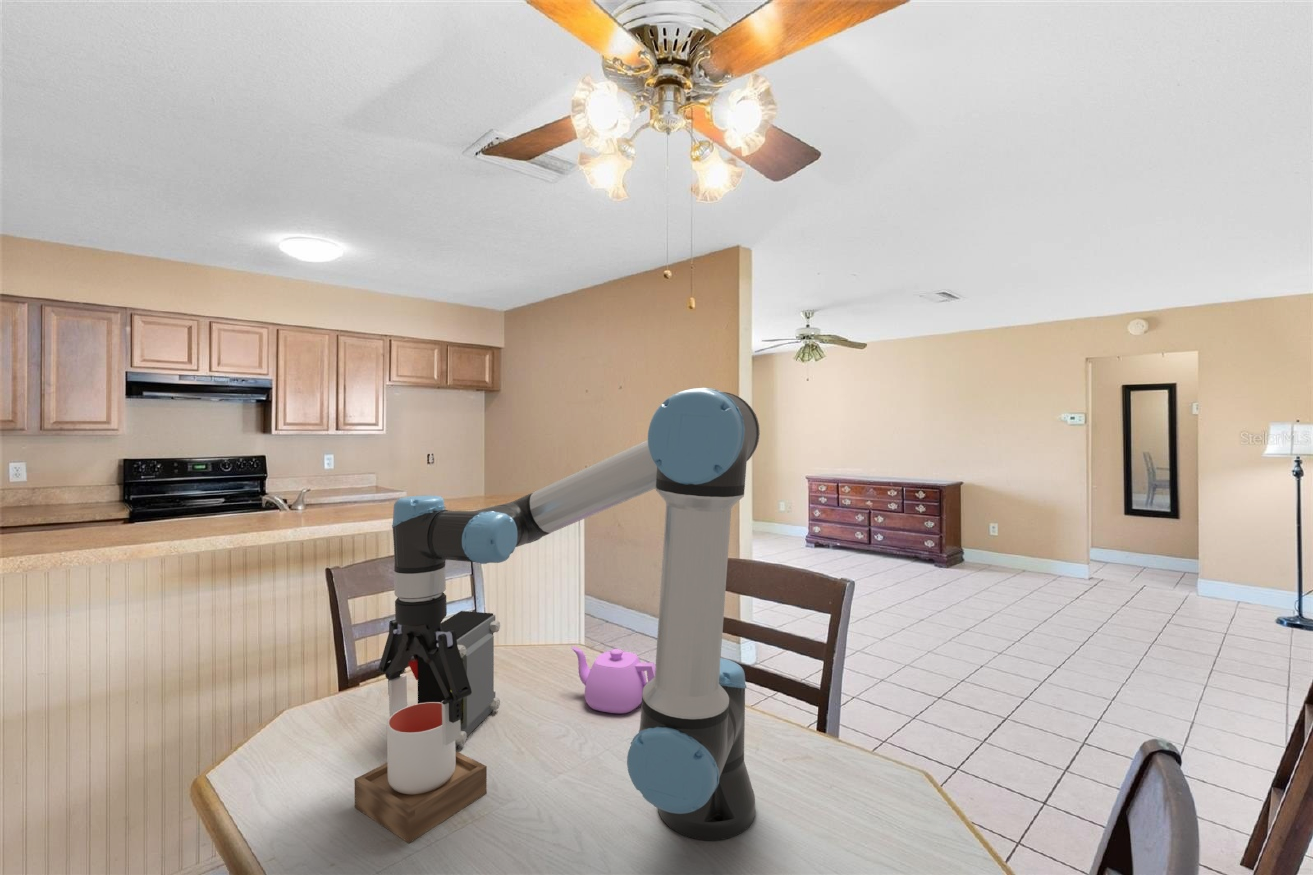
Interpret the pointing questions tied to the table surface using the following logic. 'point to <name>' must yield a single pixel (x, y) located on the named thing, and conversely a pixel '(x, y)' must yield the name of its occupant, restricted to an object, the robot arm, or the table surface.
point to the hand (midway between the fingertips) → (424, 729)
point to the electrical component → (466, 668)
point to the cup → (418, 749)
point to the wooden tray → (419, 798)
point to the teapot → (614, 680)
